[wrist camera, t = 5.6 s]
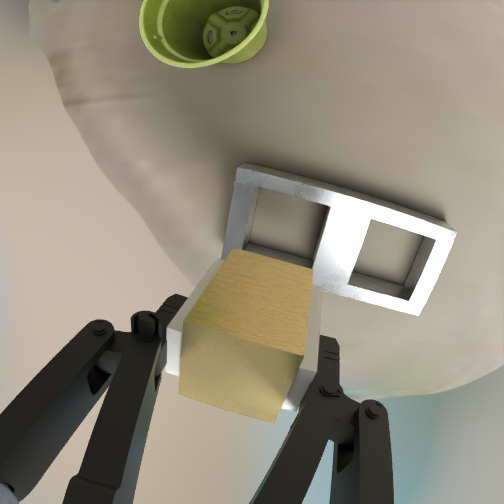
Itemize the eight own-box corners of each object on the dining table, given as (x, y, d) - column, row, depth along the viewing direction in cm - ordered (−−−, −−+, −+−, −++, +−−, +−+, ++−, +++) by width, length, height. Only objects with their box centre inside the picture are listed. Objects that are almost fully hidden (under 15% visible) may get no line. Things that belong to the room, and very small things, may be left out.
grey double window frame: (245, 162, 28) (237, 167, 25) (446, 221, 26) (457, 232, 23) (229, 249, 32) (220, 261, 29) (412, 299, 30) (418, 315, 27)
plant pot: (189, 87, 26) (140, 80, 18) (184, 3, 22) (138, -26, 15) (289, 76, 24) (274, 57, 16) (280, -13, 20) (262, -57, 12)
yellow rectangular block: (233, 247, 17) (183, 320, 11) (313, 269, 17) (304, 355, 10) (222, 312, 19) (178, 393, 13) (292, 332, 19) (273, 423, 12)
